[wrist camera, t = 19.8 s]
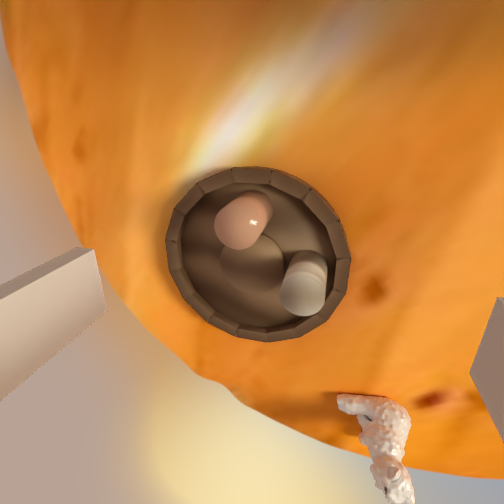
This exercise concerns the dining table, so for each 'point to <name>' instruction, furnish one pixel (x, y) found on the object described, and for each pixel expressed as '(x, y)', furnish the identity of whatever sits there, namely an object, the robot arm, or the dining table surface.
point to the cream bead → (304, 283)
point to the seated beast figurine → (383, 441)
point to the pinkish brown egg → (243, 219)
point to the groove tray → (284, 226)
